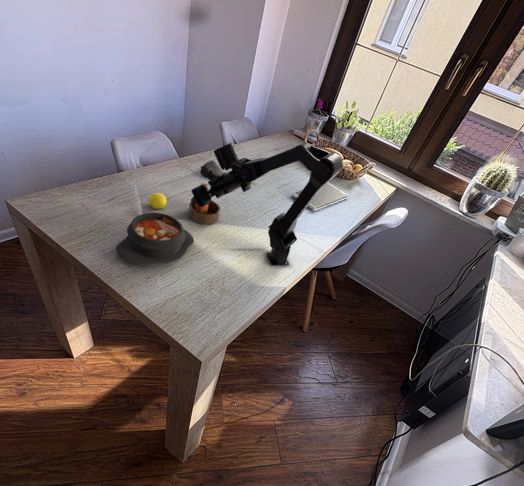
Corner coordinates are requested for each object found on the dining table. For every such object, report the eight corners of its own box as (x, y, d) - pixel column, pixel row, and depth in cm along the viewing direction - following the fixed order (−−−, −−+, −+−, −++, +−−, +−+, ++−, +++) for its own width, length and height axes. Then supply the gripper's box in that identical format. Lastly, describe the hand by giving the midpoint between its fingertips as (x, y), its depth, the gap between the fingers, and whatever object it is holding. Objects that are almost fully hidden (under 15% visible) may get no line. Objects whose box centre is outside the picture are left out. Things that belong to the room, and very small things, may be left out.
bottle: (208, 218, 131) (212, 189, 123) (195, 217, 129) (198, 188, 121) (205, 210, 134) (209, 181, 126) (192, 210, 132) (195, 181, 124)
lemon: (153, 213, 126) (154, 200, 122) (144, 205, 128) (144, 192, 125) (170, 209, 131) (171, 195, 127) (161, 201, 133) (161, 188, 129)
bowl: (221, 226, 130) (223, 215, 127) (191, 225, 126) (192, 214, 123) (214, 209, 137) (216, 198, 134) (185, 208, 133) (186, 197, 130)
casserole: (167, 222, 125) (168, 200, 119) (206, 250, 119) (209, 228, 113) (102, 247, 108) (99, 223, 102) (143, 281, 102) (143, 258, 96)
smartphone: (290, 196, 159) (292, 193, 158) (326, 185, 176) (327, 181, 174) (313, 212, 154) (315, 208, 152) (347, 198, 170) (349, 195, 169)
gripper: (235, 151, 122) (204, 168, 132) (199, 165, 109) (169, 183, 119) (249, 183, 125) (219, 197, 135) (216, 200, 112) (186, 214, 122)
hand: (199, 197), depth 128 cm, fingers open, 8 cm apart
